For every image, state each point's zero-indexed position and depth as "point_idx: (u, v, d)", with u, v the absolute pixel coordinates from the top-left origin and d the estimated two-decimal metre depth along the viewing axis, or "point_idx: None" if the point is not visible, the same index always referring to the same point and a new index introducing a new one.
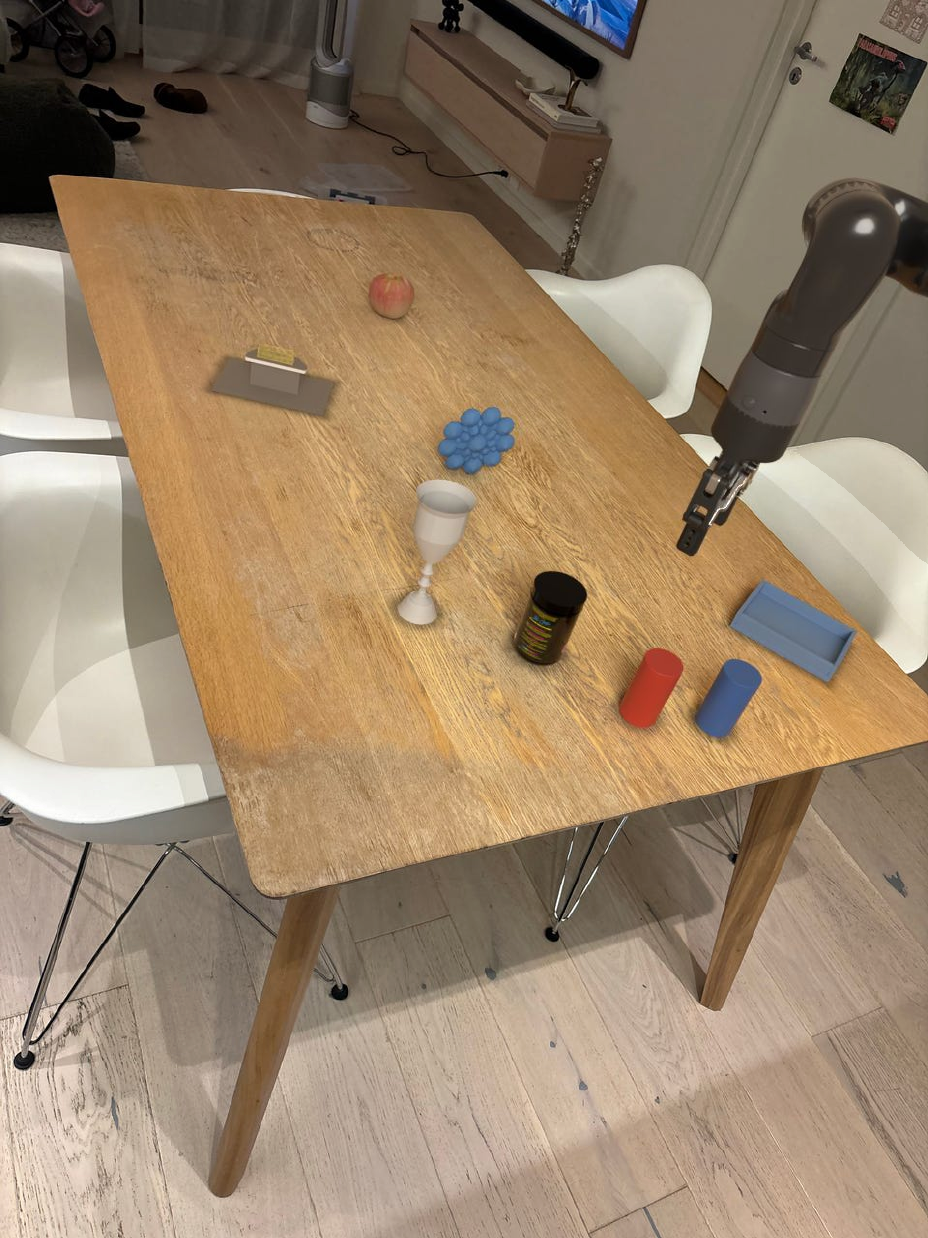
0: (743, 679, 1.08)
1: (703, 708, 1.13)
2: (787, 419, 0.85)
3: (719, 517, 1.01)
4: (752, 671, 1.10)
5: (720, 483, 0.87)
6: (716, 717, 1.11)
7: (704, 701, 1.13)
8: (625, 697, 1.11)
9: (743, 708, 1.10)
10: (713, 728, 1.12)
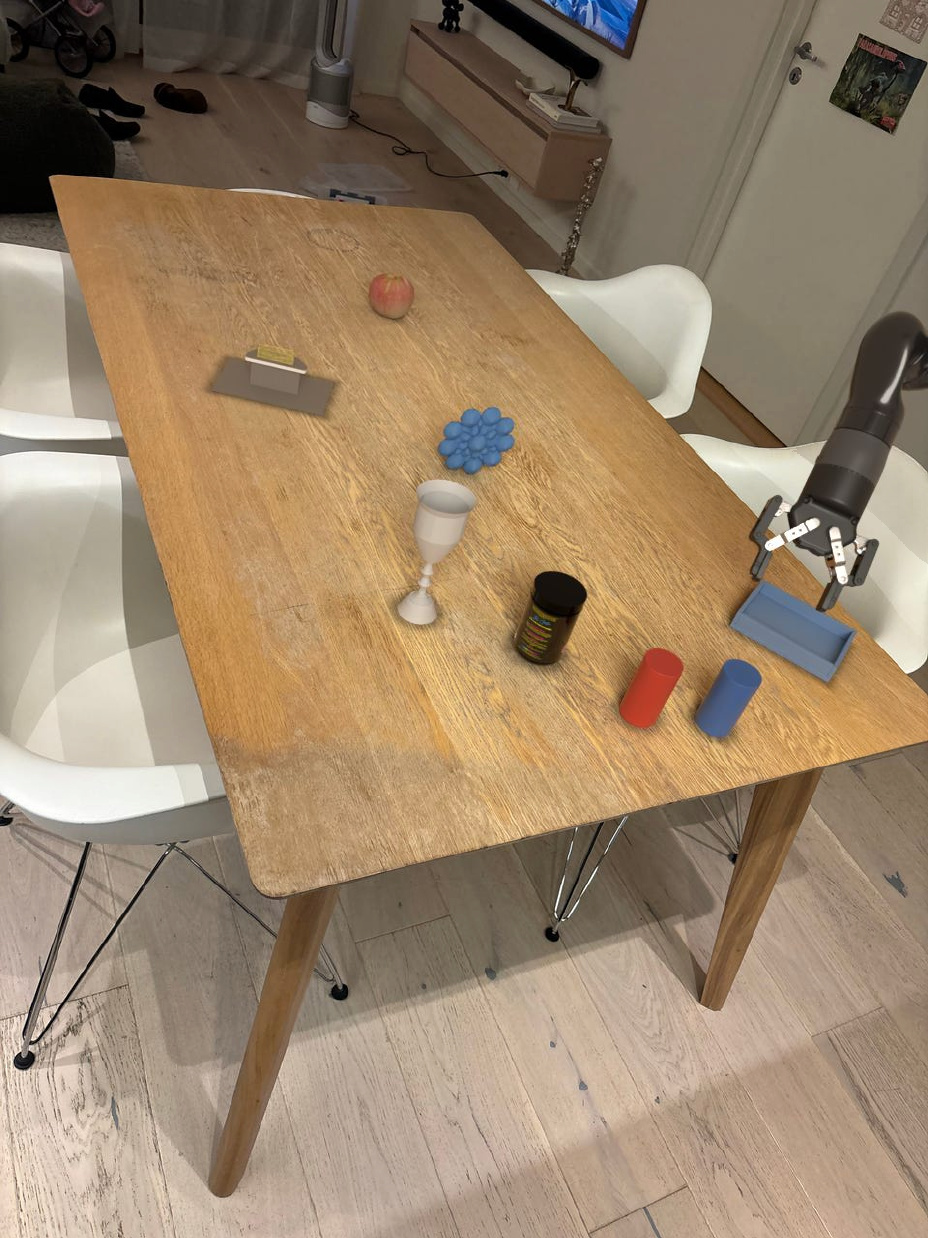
0: (743, 679, 1.08)
1: (703, 708, 1.13)
2: (836, 459, 1.08)
3: (821, 603, 1.10)
4: (752, 671, 1.10)
5: (772, 497, 1.11)
6: (716, 717, 1.11)
7: (704, 701, 1.13)
8: (625, 697, 1.11)
9: (743, 708, 1.10)
10: (713, 728, 1.12)
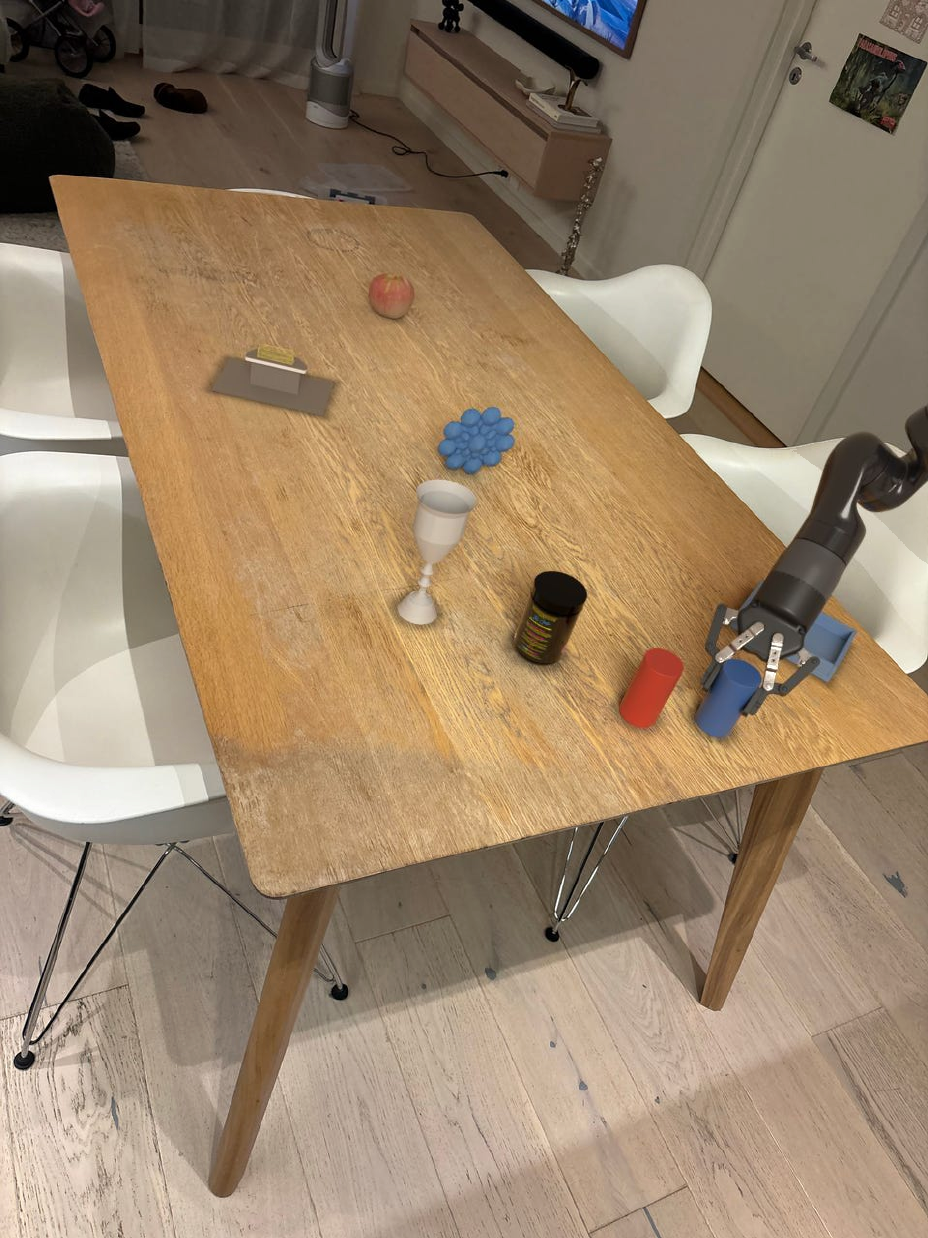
0: (743, 679, 1.08)
1: (703, 708, 1.13)
2: (785, 566, 1.09)
3: None
4: (752, 671, 1.10)
5: (717, 606, 1.12)
6: (716, 717, 1.11)
7: (704, 701, 1.13)
8: (625, 697, 1.11)
9: (743, 708, 1.10)
10: (713, 729, 1.12)
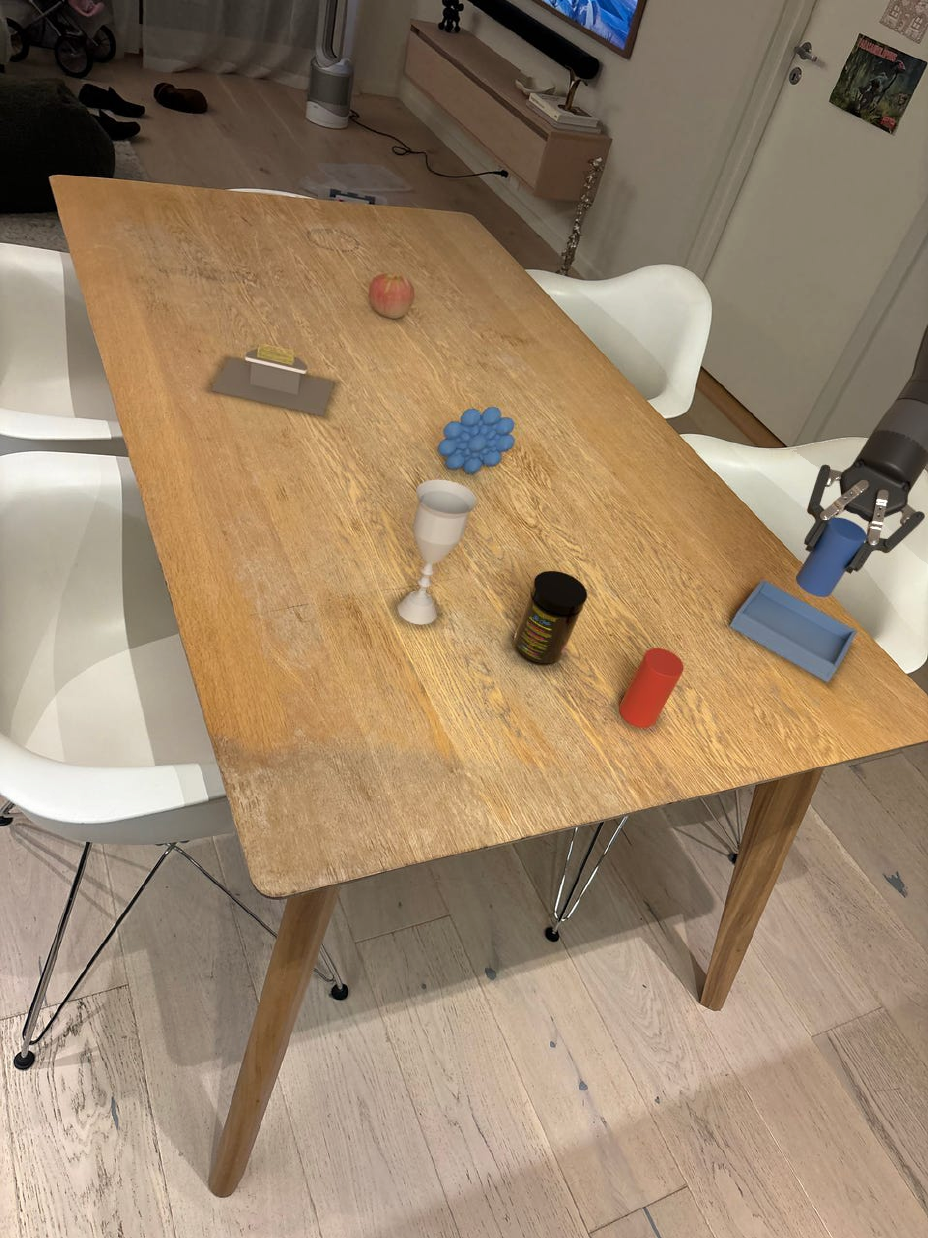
0: (849, 534, 1.11)
1: (806, 568, 1.16)
2: (889, 425, 1.12)
3: (850, 563, 1.12)
4: (856, 528, 1.13)
5: (820, 468, 1.15)
6: (820, 575, 1.14)
7: (807, 561, 1.16)
8: (625, 697, 1.11)
9: (847, 565, 1.13)
10: (816, 587, 1.15)
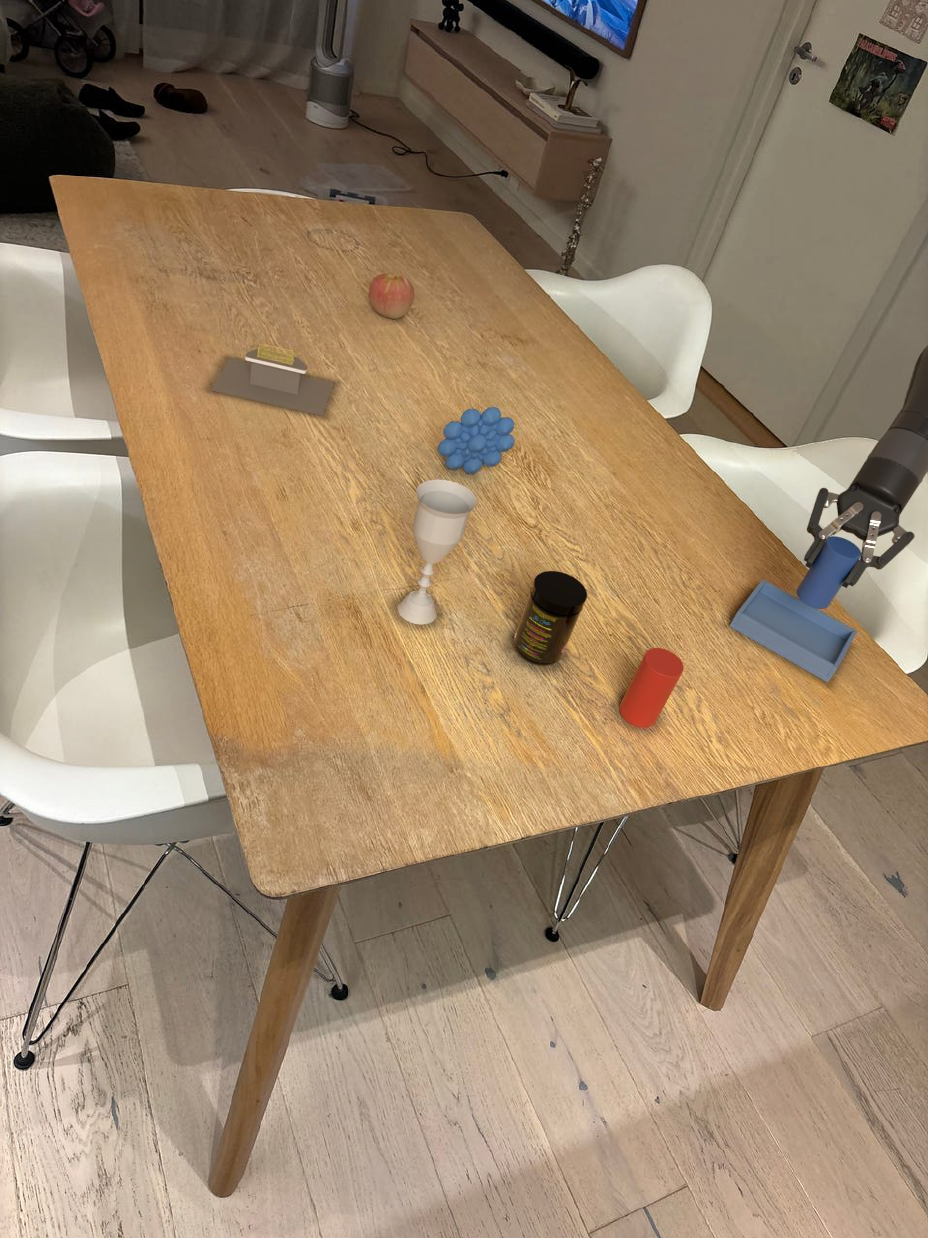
0: (845, 552, 1.21)
1: (805, 582, 1.26)
2: (882, 452, 1.22)
3: (846, 578, 1.22)
4: (852, 546, 1.23)
5: (819, 491, 1.25)
6: (819, 589, 1.24)
7: (807, 576, 1.26)
8: (625, 697, 1.11)
9: (843, 580, 1.23)
10: (815, 600, 1.25)
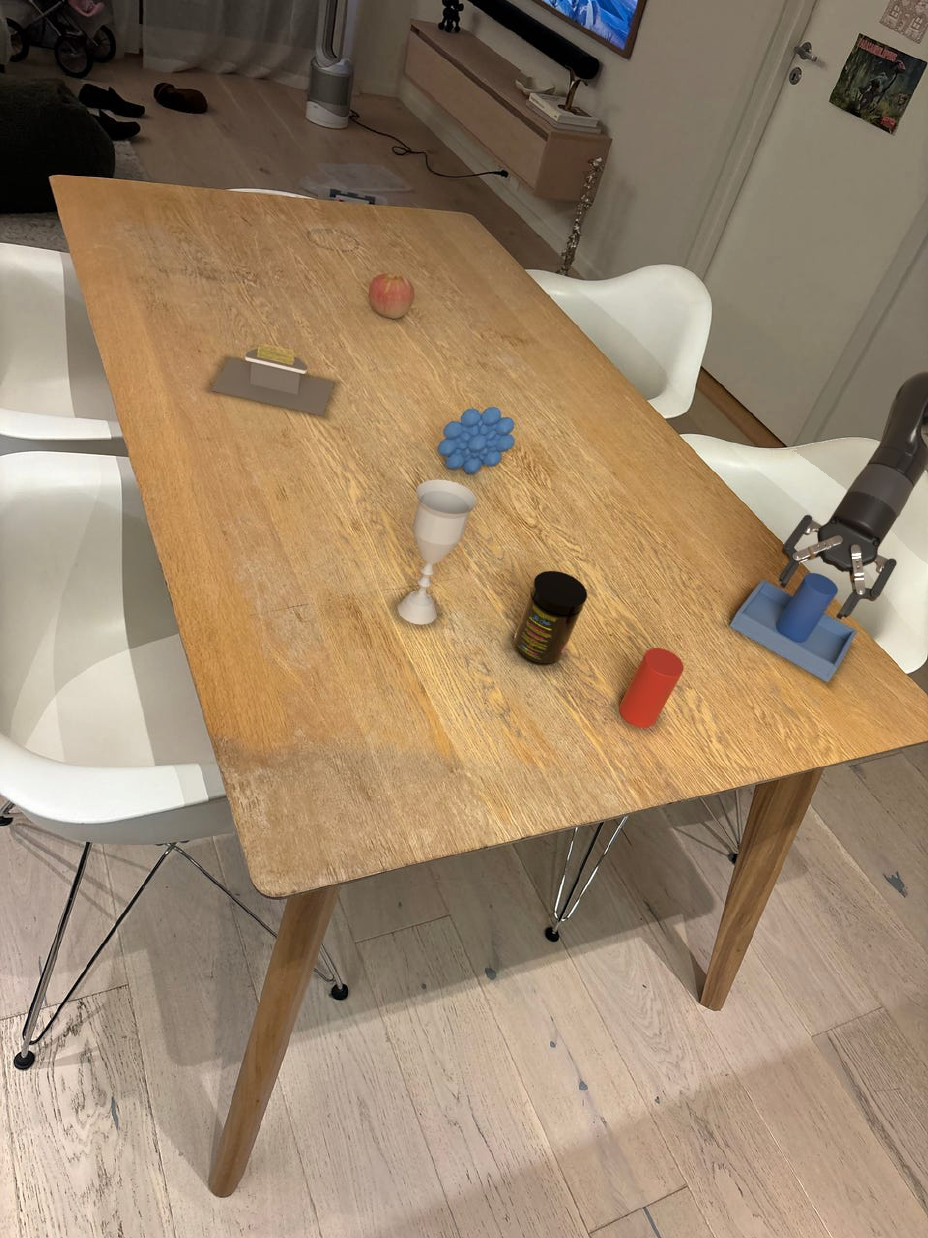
0: (822, 588, 1.26)
1: (784, 617, 1.30)
2: (861, 487, 1.26)
3: (840, 610, 1.26)
4: (829, 583, 1.27)
5: None
6: (797, 624, 1.28)
7: (785, 611, 1.30)
8: (625, 697, 1.11)
9: (821, 615, 1.28)
10: (793, 634, 1.30)
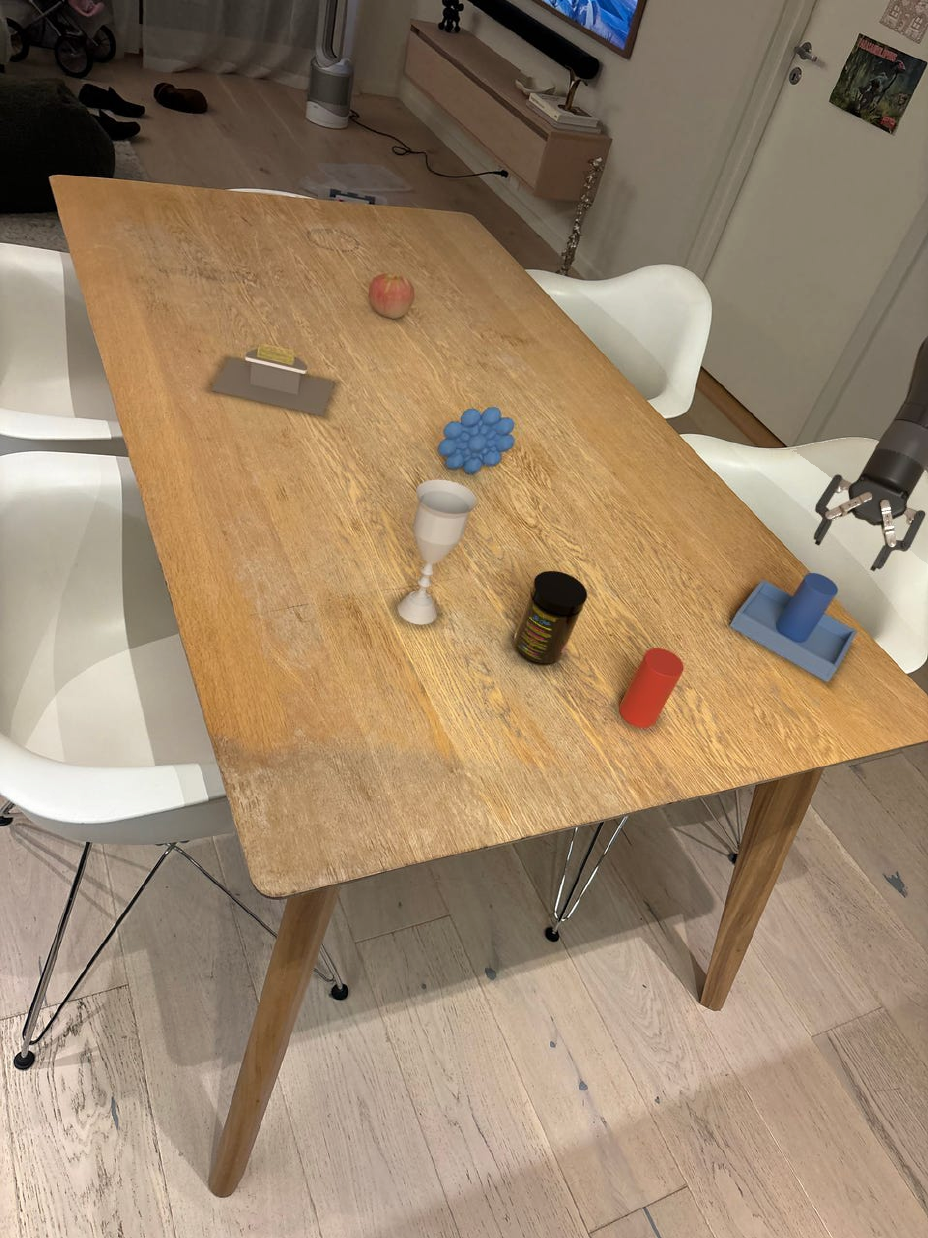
0: (822, 588, 1.26)
1: (784, 617, 1.30)
2: (887, 444, 1.32)
3: None
4: (829, 583, 1.27)
5: None
6: (797, 624, 1.28)
7: (785, 611, 1.30)
8: (625, 697, 1.11)
9: (821, 615, 1.28)
10: (793, 634, 1.30)
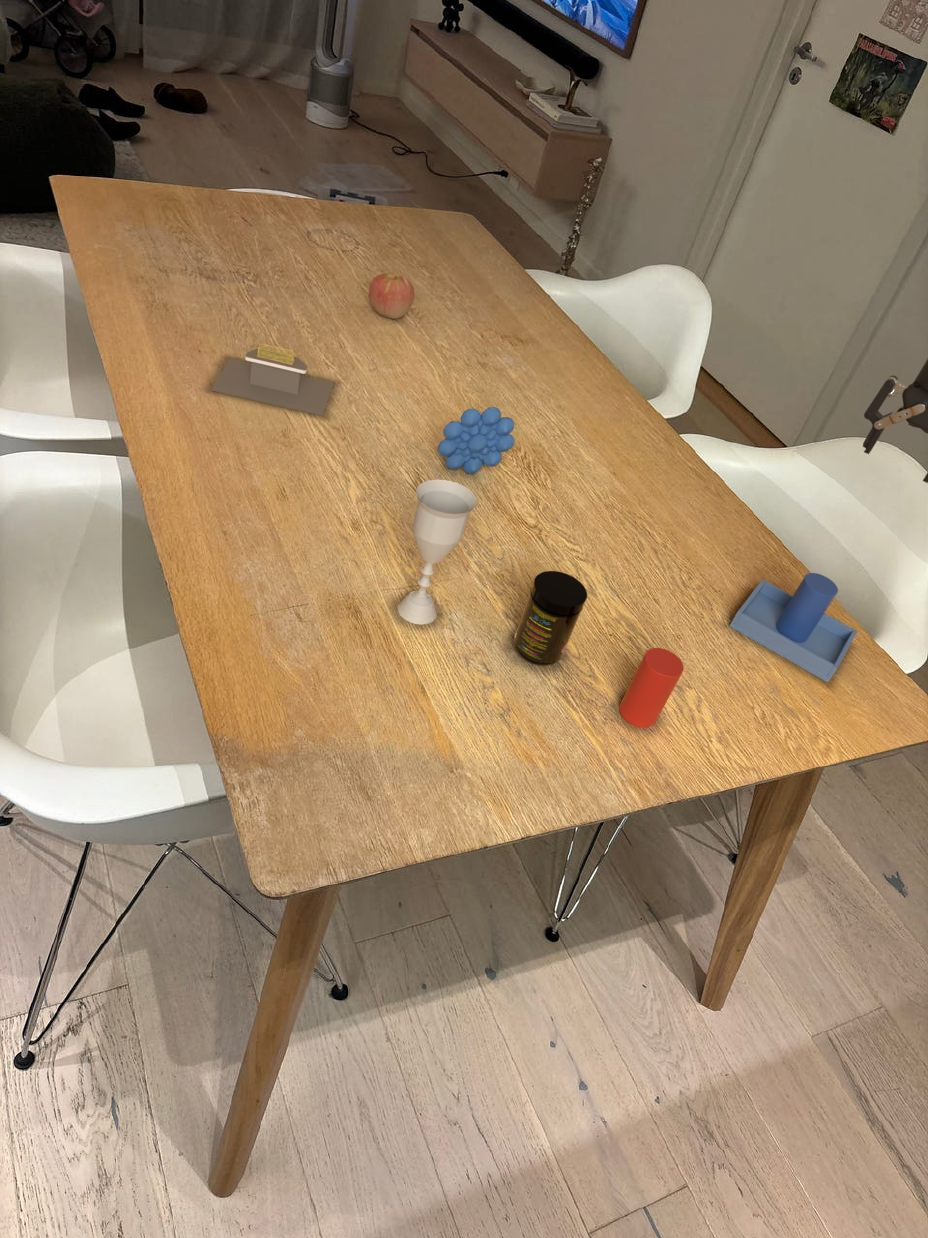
0: (822, 588, 1.26)
1: (784, 617, 1.30)
2: None
3: None
4: (829, 583, 1.27)
5: (886, 380, 1.22)
6: (797, 624, 1.28)
7: (785, 611, 1.30)
8: (625, 697, 1.11)
9: (821, 615, 1.28)
10: (793, 634, 1.30)
